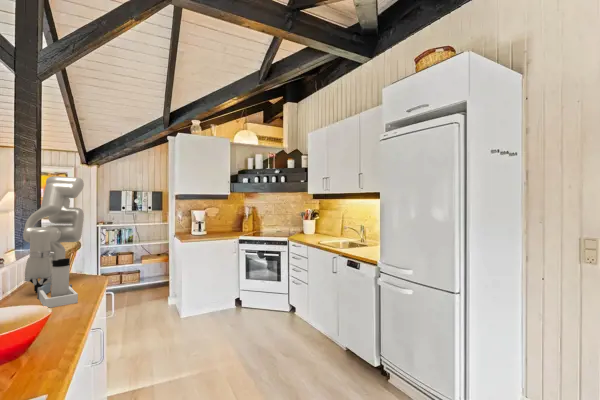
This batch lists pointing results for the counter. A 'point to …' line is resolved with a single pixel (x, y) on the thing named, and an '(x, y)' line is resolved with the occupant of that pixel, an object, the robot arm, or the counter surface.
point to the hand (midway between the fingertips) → (38, 292)
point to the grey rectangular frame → (59, 298)
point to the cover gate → (44, 289)
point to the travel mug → (60, 277)
